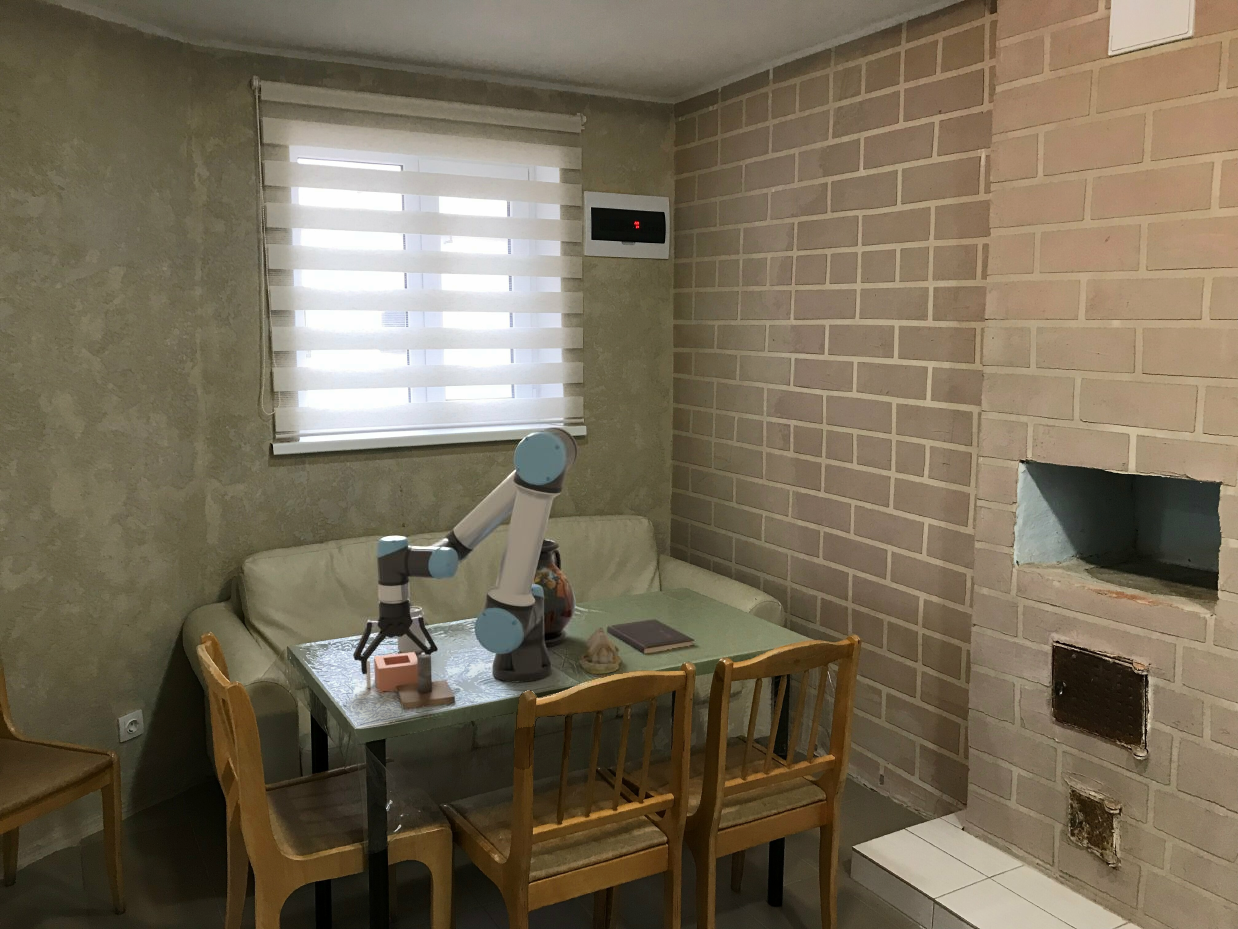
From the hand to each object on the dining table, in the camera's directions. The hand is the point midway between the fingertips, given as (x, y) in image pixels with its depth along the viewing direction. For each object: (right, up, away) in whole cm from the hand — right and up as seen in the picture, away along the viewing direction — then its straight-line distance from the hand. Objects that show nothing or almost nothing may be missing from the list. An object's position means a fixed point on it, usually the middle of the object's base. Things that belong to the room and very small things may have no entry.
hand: (396, 683), depth 241 cm
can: (-2, +3, +26) cm, 26 cm away
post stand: (+9, -1, -10) cm, 13 cm away
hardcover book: (+64, +4, +36) cm, 73 cm away
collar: (0, 0, 0) cm, 0 cm away
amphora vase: (+32, +4, +35) cm, 48 cm away
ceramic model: (+51, +1, +13) cm, 52 cm away
